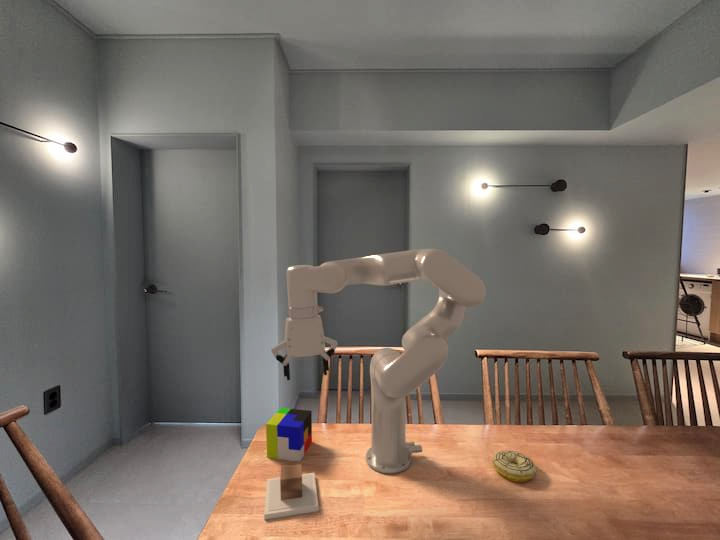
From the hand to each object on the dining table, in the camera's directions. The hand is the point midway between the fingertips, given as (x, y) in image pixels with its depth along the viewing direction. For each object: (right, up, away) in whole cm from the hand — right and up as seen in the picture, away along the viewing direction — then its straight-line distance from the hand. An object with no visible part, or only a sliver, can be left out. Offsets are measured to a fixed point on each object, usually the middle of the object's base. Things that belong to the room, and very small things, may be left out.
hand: (306, 375), depth 94 cm
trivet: (-2, -27, -8) cm, 28 cm away
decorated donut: (+55, -26, +1) cm, 61 cm away
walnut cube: (-2, -25, -8) cm, 27 cm away
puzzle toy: (-7, -25, +11) cm, 28 cm away
